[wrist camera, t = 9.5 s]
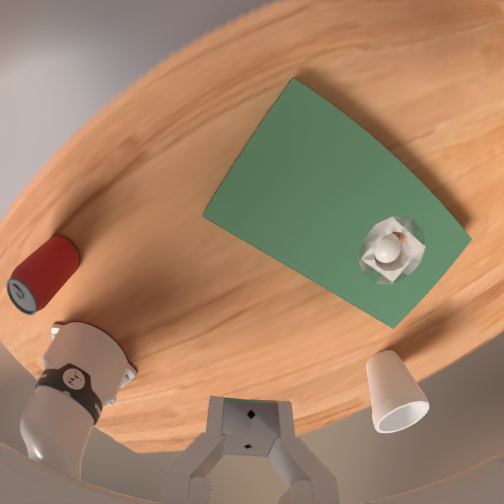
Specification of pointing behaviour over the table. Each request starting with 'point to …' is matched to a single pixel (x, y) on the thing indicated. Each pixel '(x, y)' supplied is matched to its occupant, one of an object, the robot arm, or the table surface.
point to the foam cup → (393, 393)
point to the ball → (388, 248)
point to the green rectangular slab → (336, 207)
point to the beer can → (42, 275)
